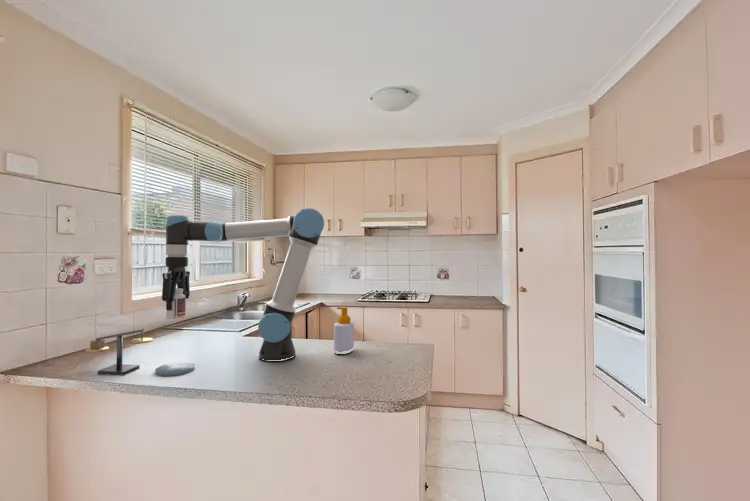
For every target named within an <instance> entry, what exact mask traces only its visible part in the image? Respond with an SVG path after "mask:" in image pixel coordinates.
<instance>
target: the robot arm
mask: <svg viewBox="0 0 750 501" xmlns="http://www.w3.org/2000/svg"><path fill="white" fill-rule="evenodd" d="M324 227H325V220H324V217H323V215H322V213H321V212H320V211H318V210H317V209H315V208H312V207H311V208H310V207H306V208H302V209H300V210H299V211H298V212H296V213H295V215H289V216H287V218H276V219H262V220H249V221H236V222H234V221H233V222H219V221H211V220H210V221H192V220H190V218H189V216H187V215H178V214H172V215H171V214H170V215H168V216H166V224H165V255H166V257H165V266H166V268H168V269H167V272H163V273H162V275H161V276H162V288H161V289H162V290H161V291H162V292H161V294H162V295H161V300H162V302H165V304H166V305H165V309H166V310H165V311H166V312H165V313H166V317H165V318H166V320H176V319H175V301H173V299H174V294H175V289H176V288H182V289H183V292H182V293H183V294H184V295H185V311H186V307H187V306H186V305H187V304H186V303H187V302H186V300H187V299H190V294H191V292H190V275H191V271H189V270H188V271H187V270H186V267H188V266H189V257H188V256H189V241H190V242H209V243H210V242H211V243H220V242H227V241H241V240H251V239H252V240H253V239H255V240H256V239H264V238H265V239H266V238H279V237H288V238H289V241H290V244H289V247H288V251H287V254H286V257H285V260H284V263H283V266H282V268H281V272H280V275H279V277H278V279H277V280H278V281H277V284H276V287H275V290H274V292H273V295H272V298H271V300H269V301H267V302H266V304H264V308H263V314H262V316H261V318H260V320H259V322H258V324H257V325H258V329H257V330H258V333H259V335H260V337H261V338H262V339H263V342H262V343H261V346H260V349H259V352H258V353H259V354H258V359H259V358H261V359H264V360H281V359H286V358H290V357H292V356H294V355H295V356H296V349H295V346H294V342H293V338H292V336H293V335H292V330H293V329H292V324H293V320H294V317H295V314H296V309H295V306H294V304H295V301H296V298H297V295H298V292H299V289H300V286H301V283H302V280H303V276H304V273H305V271H306V267H307V266H308V262H309V259H310V255H311V252H312V249H314V248H316V247H317V246H318V244H319V240H320V237H321V235H322V232H323V230H324Z"/></svg>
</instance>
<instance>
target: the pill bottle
mask: <svg viewBox="0 0 750 501" xmlns="http://www.w3.org/2000/svg"><path fill="white" fill-rule="evenodd" d="M182 292H183V289H182V288H177V287H176V289H175V294H174V299H173V301H175V319H174V320H177V319H179V320H180V319H184V318H185V317H186V310H185V295H184V294H183V293H182Z"/></svg>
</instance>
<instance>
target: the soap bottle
mask: <svg viewBox="0 0 750 501" xmlns="http://www.w3.org/2000/svg"><path fill="white" fill-rule="evenodd" d="M336 309H337V310H341V315H339V316H338V318H337V322H335V323H334V325H333V351H334V350H335V351H338V352H343V351H348V350H350V349H352V348H353V347H354V344H355V340H354V339H355V338H354V337H355V322H354V321H352V320H351V317H350V316H349V315H348V307H347V306H337V307H336ZM354 348H355V347H354Z"/></svg>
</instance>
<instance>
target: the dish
mask: <svg viewBox="0 0 750 501" xmlns="http://www.w3.org/2000/svg"><path fill="white" fill-rule="evenodd" d="M194 370H195V364H194V363H192V362H187V361H184V362H183V361H180V362H172V363H171V362H170V363H168V364H167V363H166V364H163V365H160V366H158V367H156V368H155V375H156V376H158V377H176V376H181V375H186V374H188V373H191V372H193V371H194Z"/></svg>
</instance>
